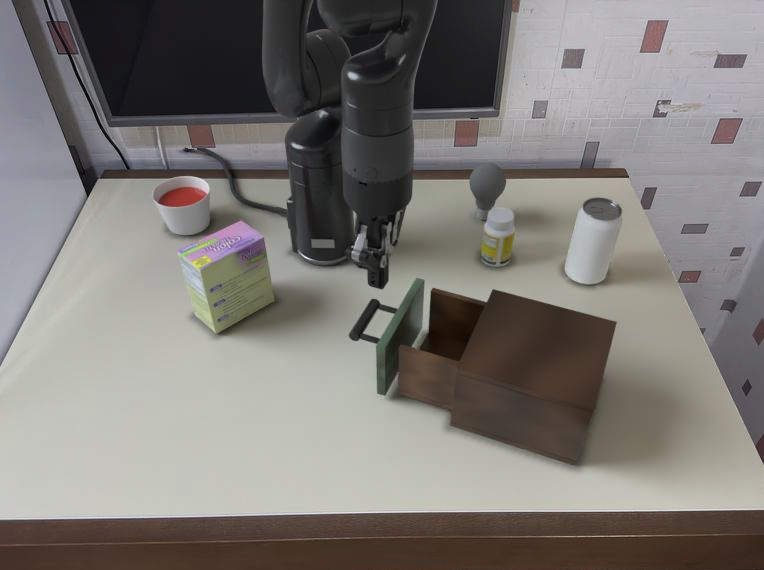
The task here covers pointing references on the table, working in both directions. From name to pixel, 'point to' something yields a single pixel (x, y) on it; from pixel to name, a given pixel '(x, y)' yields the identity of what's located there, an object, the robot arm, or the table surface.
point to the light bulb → (486, 187)
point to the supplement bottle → (498, 237)
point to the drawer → (438, 351)
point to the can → (593, 240)
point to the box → (227, 275)
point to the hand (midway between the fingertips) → (378, 284)
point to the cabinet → (532, 375)
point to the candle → (184, 204)
